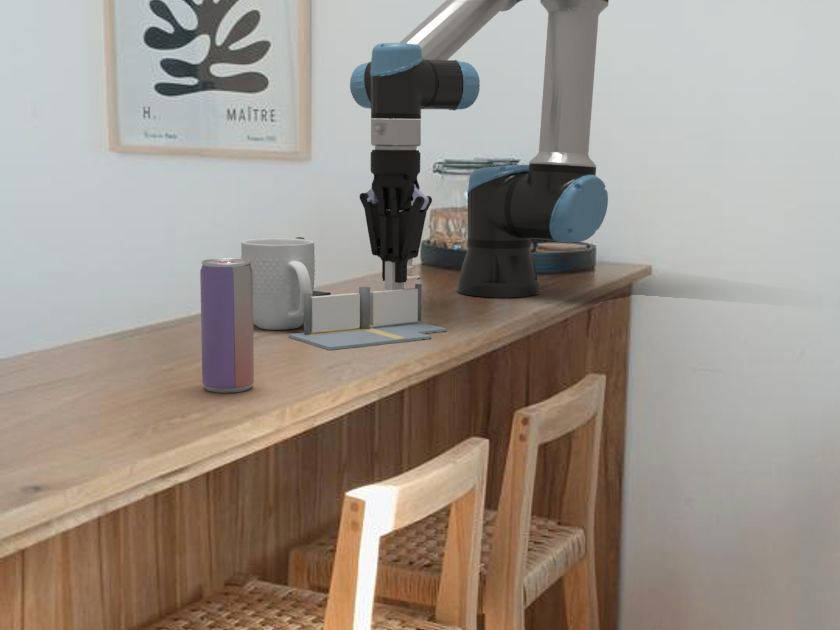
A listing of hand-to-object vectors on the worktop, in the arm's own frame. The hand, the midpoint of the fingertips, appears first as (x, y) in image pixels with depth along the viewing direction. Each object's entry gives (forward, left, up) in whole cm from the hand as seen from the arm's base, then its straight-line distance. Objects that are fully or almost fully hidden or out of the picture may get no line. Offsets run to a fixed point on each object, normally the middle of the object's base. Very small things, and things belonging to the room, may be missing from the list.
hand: (394, 303), depth 185 cm
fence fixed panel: (+11, +2, -3) cm, 12 cm away
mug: (+16, -7, -4) cm, 18 cm away
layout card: (+7, +6, -3) cm, 10 cm away
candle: (-33, -46, -4) cm, 56 cm away
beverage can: (+41, +27, -4) cm, 49 cm away
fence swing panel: (+1, +2, -3) cm, 4 cm away
